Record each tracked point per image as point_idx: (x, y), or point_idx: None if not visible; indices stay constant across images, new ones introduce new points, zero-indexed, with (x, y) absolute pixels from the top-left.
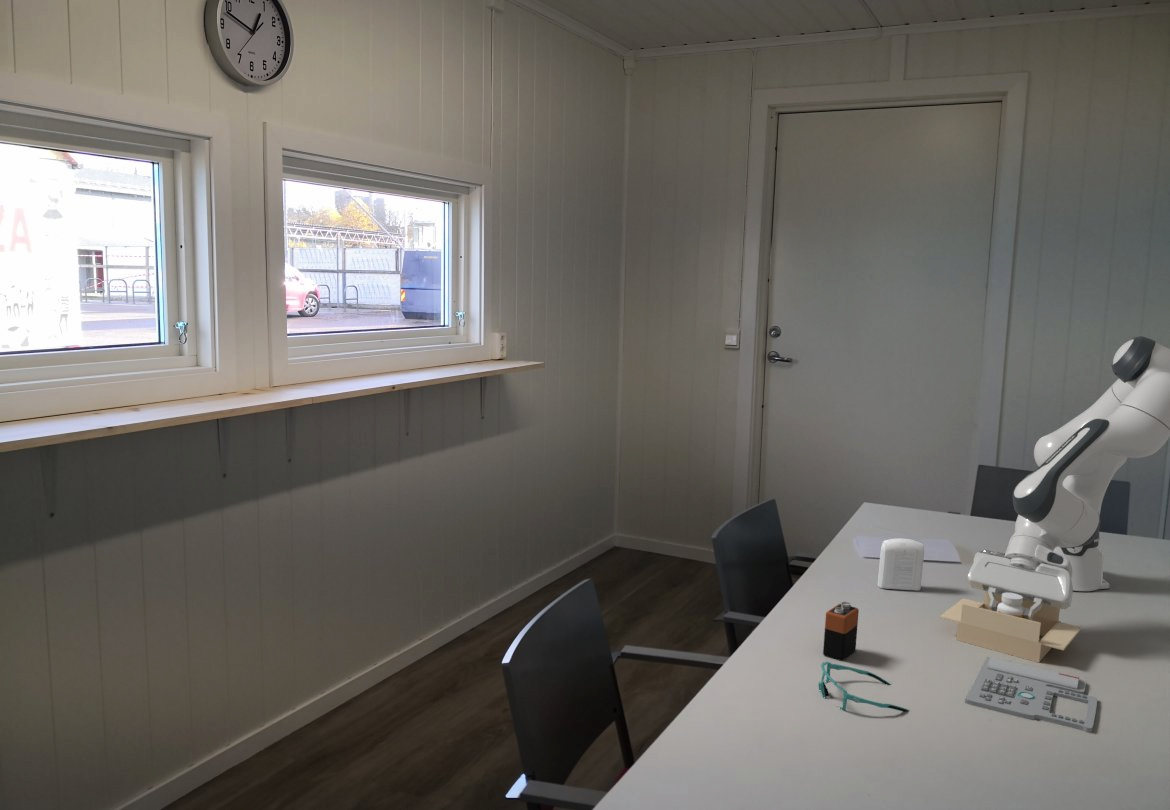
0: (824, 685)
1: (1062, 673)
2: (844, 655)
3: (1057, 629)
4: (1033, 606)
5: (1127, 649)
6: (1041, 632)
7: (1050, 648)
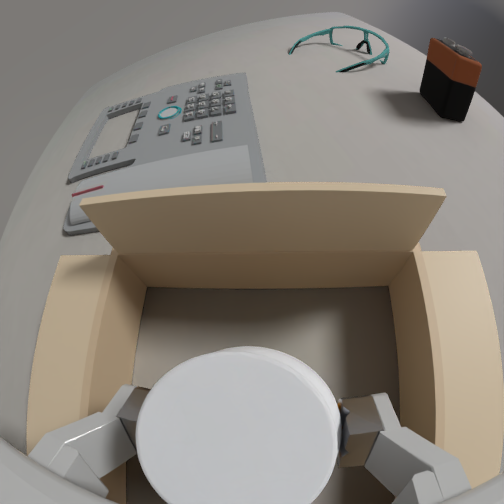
0: (362, 41)
1: None
2: (420, 87)
3: None
4: (90, 425)
5: None
6: None
7: None
